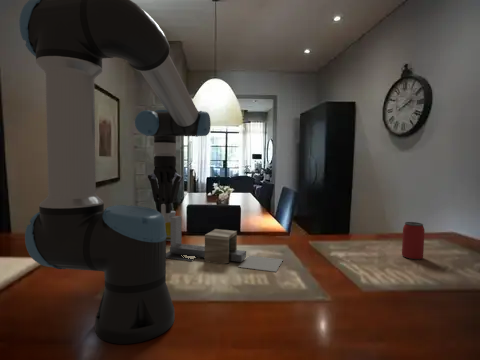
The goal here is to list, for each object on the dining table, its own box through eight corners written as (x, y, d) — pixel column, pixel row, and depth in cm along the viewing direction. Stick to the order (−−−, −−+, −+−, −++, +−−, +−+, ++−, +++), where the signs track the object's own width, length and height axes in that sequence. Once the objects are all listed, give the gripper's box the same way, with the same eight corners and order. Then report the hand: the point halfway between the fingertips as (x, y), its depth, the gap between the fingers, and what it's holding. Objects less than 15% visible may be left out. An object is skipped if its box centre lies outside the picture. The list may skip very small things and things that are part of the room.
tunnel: (227, 264, 99) (227, 237, 99) (204, 261, 102) (204, 234, 101) (236, 256, 108) (236, 231, 107) (215, 253, 110) (215, 229, 109)
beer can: (417, 254, 112) (419, 221, 111) (426, 260, 106) (428, 225, 105) (398, 254, 113) (400, 221, 112) (406, 259, 106) (408, 225, 105)
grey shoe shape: (191, 261, 101) (191, 260, 101) (159, 257, 105) (159, 256, 105) (206, 251, 113) (206, 250, 113) (177, 248, 117) (177, 247, 117)
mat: (276, 272, 93) (276, 271, 93) (237, 267, 96) (237, 266, 96) (283, 260, 104) (283, 259, 104) (248, 256, 108) (249, 255, 108)
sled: (241, 262, 100) (242, 223, 99) (169, 253, 108) (169, 217, 107) (246, 257, 104) (246, 220, 104) (177, 249, 113) (177, 215, 112)
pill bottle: (175, 241, 125) (176, 213, 125) (160, 241, 126) (159, 212, 125) (179, 237, 132) (179, 210, 131) (164, 237, 132) (164, 210, 131)
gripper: (186, 155, 111) (186, 221, 112) (154, 155, 114) (155, 219, 116) (176, 155, 103) (176, 225, 105) (142, 155, 107) (143, 222, 109)
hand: (165, 222), depth 110 cm, fingers closed
